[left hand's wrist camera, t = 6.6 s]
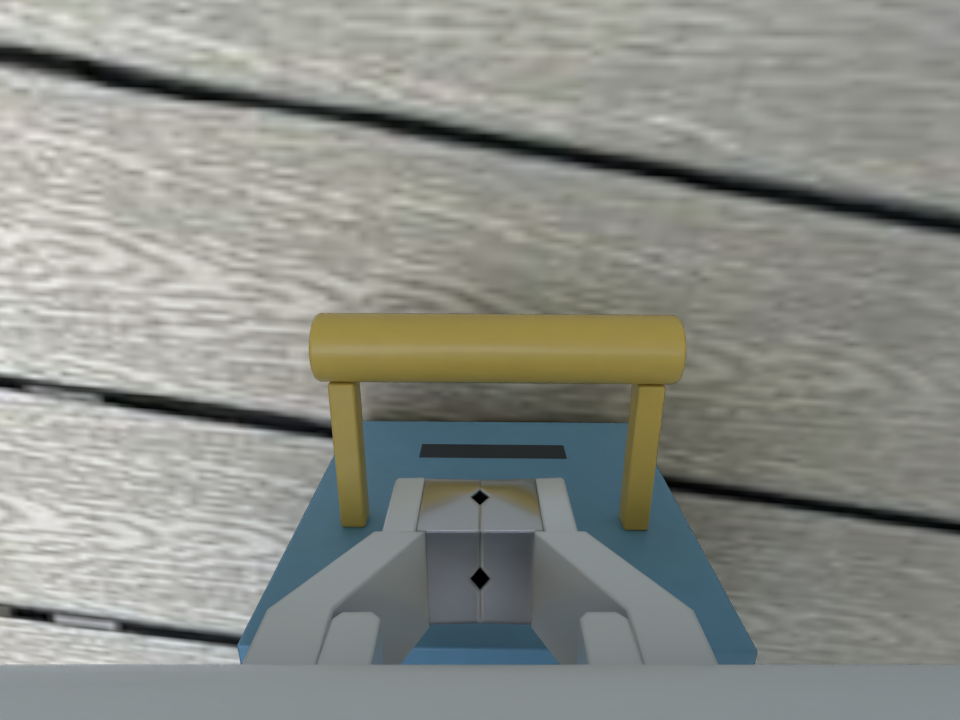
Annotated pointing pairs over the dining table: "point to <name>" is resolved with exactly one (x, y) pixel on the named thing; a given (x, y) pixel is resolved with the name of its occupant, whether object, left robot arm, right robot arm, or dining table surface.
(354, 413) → the drawer
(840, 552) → the dining table surface
